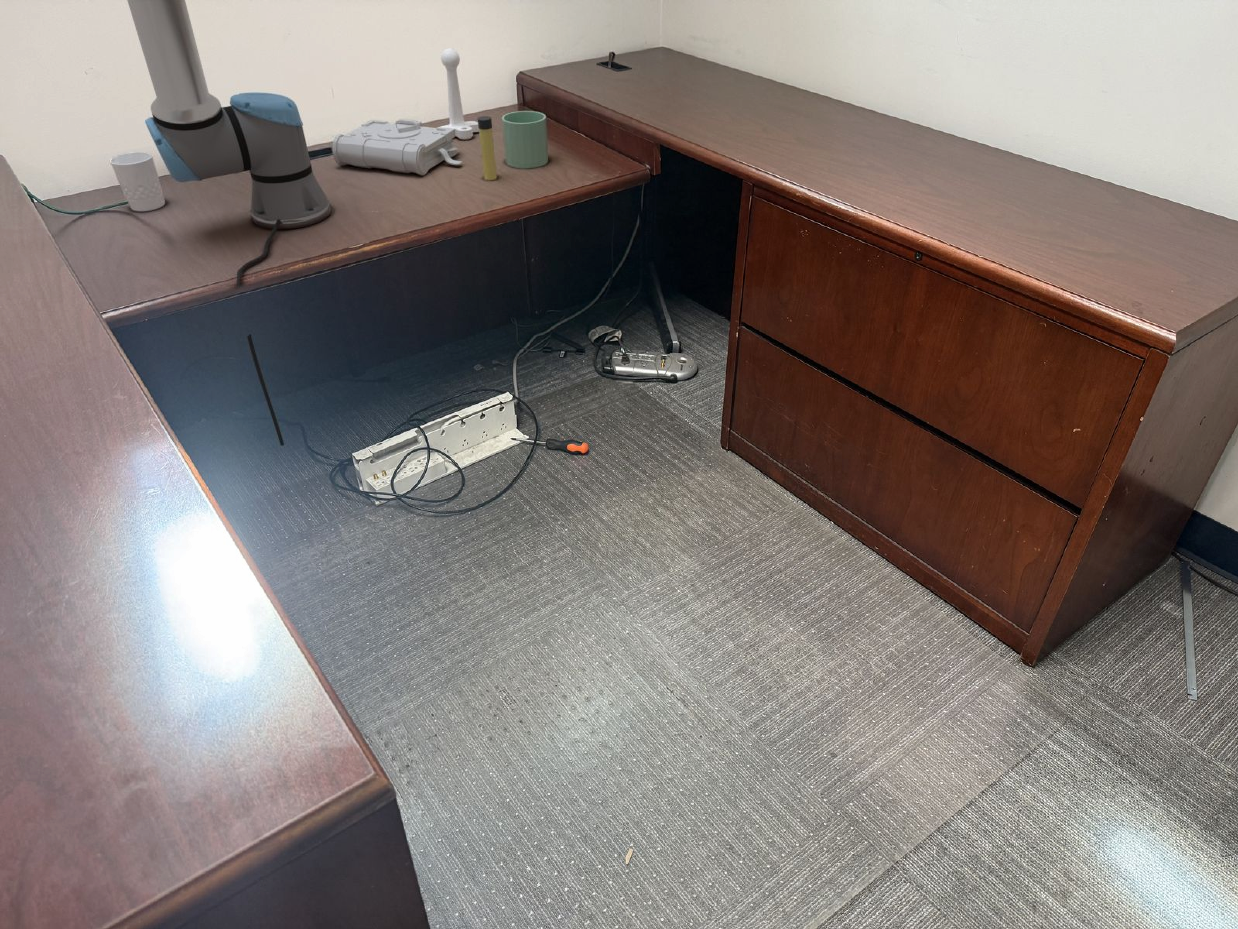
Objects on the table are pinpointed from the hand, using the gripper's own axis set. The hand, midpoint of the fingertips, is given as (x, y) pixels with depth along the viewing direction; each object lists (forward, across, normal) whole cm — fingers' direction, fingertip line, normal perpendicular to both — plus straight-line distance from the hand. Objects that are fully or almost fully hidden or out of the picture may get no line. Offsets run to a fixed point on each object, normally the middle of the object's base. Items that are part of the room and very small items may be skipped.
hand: (137, 40), depth 183 cm
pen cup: (+14, -70, +50) cm, 87 cm away
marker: (+12, -57, +55) cm, 81 cm away
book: (+18, -46, +35) cm, 60 cm away
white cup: (+19, +10, +31) cm, 38 cm away
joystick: (+21, -64, +25) cm, 72 cm away
